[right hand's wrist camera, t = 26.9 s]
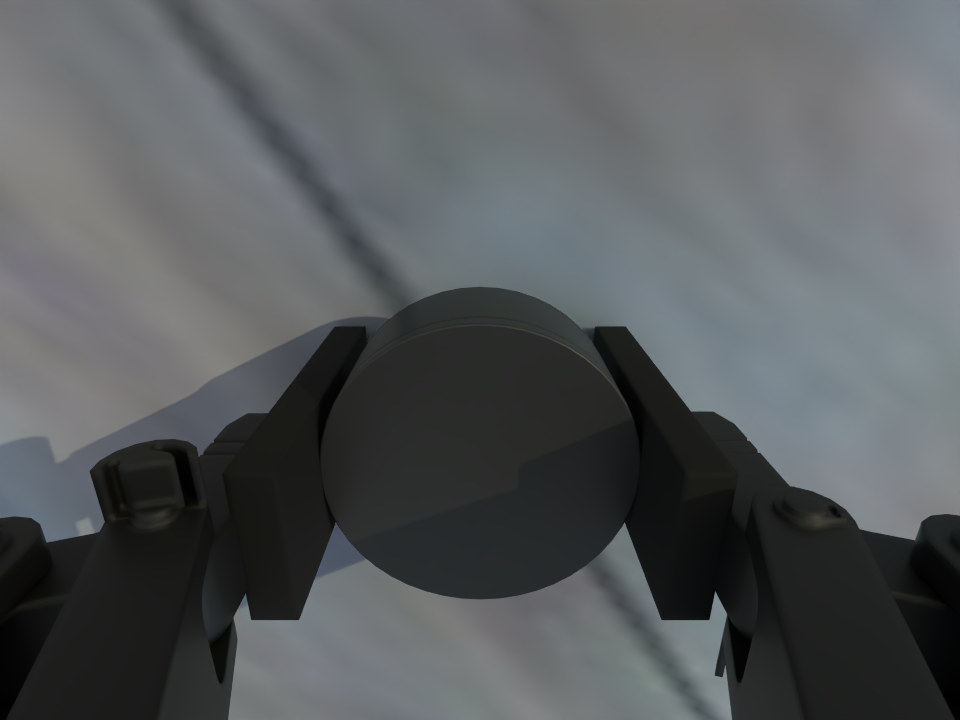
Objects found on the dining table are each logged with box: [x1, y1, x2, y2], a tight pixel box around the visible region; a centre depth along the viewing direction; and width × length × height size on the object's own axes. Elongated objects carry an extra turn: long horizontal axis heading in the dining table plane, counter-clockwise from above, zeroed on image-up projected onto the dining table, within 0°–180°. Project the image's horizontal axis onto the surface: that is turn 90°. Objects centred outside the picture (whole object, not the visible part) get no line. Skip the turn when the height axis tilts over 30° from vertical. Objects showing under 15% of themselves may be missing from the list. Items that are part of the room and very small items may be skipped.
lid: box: [319, 287, 641, 599], centre depth 11 cm, size 6×6×2 cm
